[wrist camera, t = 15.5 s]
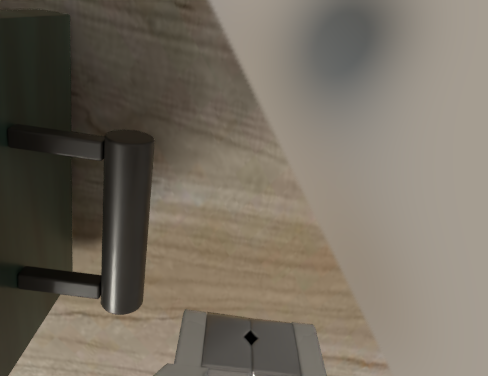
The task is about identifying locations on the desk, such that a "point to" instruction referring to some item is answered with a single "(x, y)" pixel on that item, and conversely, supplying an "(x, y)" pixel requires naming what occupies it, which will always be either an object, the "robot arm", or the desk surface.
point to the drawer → (59, 187)
